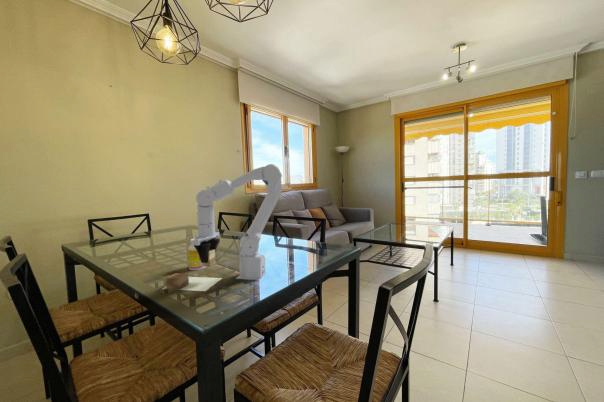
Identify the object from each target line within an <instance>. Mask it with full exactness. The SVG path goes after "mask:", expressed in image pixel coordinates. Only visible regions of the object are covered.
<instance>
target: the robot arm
mask: <svg viewBox="0 0 604 402" xmlns="http://www.w3.org/2000/svg"><path fill="white" fill-rule="evenodd" d="M282 176H283V175H282V171H280V167H279V166H277V165H276V164H273V163H269V164H266V166H261V167H257V168H254V169H252V170H250V171H248V172H246V173H244V174H242V175H240V176H239V177H236V178H235V179H232V180H228V179H224V180H222V179H220V180H218V182H217V183H216V184H214V185H211V186H206V189H202V190H201V191H199V192H198V193H197V194H196V197H195V201H196V203H197V206H196V207H197V208H196V209H197V212H196V215H197V235H195V238H192V239H193V245H194V247H195V249H196V250H197V252H198V254H199V257H200V260H201V263H207V262H208V255H209V250H215V254H216V251H217V248H218V245H219V244H220V241H221V239H220V232H219V231H216V226H215V225H216V223H215V210H214V202H215V201H216V202H219V201H221V200H222V199H225V198H226V197H229V196H231V195H234V194H233V193H234V191H235V189H236V188H239V187H241V186H243V185H245V184H247V183H250V182H251V181H262V182H263V183H264V184H265V187H266V190H267V193H266V195H265V197H264V199H263V200H262V203H261V205H260V207H259V209H258V211H257V213H256V215H255V217H254V219H253V220H252V223H251V224H250V226H249V228H248V229H247V230H246V231H245V233H244V235H242V236H241V237H240V238H239V241H238V245H239V248H240V249H241V250H240V252H239V253H238V254H239V255H238V258H239V262H238V263H239V275H238V276H237V277H235V279H236V280H239V279H240V280H241V279H242V280H251V281H253V280H254V281H255V280H257V281H260V280H261V279H262V278H263V277H264V276H265V275H266V274H267V272H266V256H265V255H264V253H263V254H262V253H259V248H260V247H259V244H260V241H261V237H262V233H263V231H264V229H265V226H266V225H267V222H269V219H270V217H271V215H272V213H273V211H274V209H275V207H276V205H277V203H278V202H279V199H280V197H281V194H283V193H282V192H283V188H282V187H283V186H282Z"/></svg>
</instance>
